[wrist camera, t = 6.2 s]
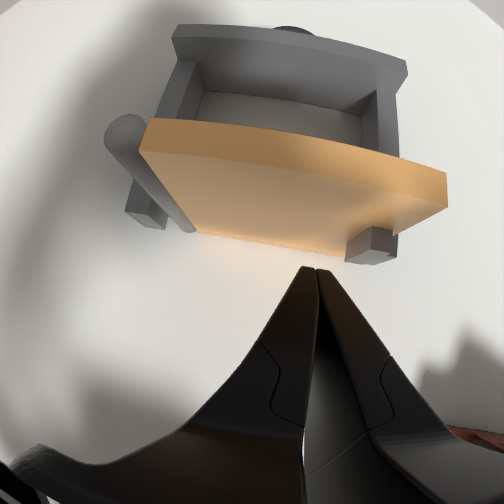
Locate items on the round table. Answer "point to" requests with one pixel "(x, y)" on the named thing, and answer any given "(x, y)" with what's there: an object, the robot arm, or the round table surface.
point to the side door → (276, 185)
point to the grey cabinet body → (279, 85)
